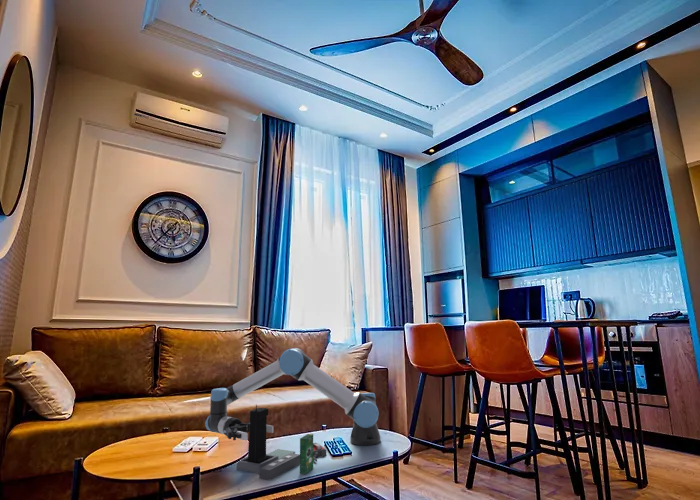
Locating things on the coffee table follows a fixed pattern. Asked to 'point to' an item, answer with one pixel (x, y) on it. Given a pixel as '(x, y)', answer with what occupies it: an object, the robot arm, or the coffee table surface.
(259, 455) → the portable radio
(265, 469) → the charging dock
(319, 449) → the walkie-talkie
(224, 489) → the coffee table surface
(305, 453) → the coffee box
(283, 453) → the rubber mat
